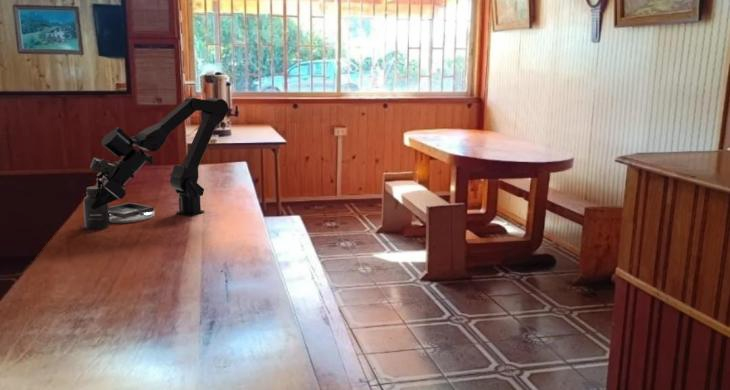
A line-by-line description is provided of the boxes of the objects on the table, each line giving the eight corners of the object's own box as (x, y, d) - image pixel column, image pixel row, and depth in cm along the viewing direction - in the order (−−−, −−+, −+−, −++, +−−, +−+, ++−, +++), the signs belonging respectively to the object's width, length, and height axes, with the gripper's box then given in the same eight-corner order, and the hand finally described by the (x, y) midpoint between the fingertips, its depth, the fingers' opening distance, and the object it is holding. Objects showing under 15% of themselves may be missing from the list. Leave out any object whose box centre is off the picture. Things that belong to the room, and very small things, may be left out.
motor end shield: (165, 214, 200) (164, 206, 199) (123, 225, 186) (122, 217, 186) (131, 208, 208) (131, 200, 207) (89, 218, 194) (88, 209, 194)
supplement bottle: (93, 231, 180) (89, 190, 177) (80, 227, 184) (77, 187, 181) (115, 226, 185) (112, 187, 183) (102, 222, 189) (99, 184, 187)
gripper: (102, 143, 189) (65, 182, 186) (110, 152, 173) (70, 194, 170) (131, 167, 195) (95, 205, 192) (141, 178, 179) (103, 219, 176)
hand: (90, 205), depth 182 cm, fingers closed on supplement bottle, 7 cm apart
